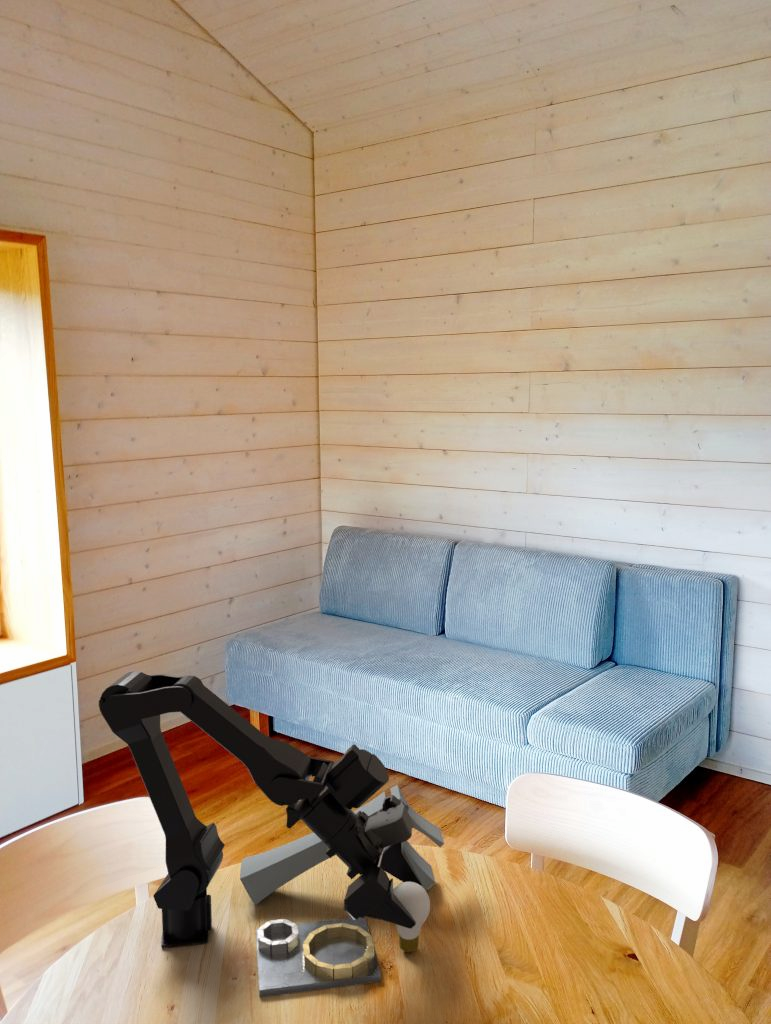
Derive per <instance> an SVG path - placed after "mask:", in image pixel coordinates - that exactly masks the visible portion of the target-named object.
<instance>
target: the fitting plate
mask: <svg viewBox="0 0 771 1024" xmlns="http://www.w3.org/2000/svg"><path fill="white" fill-rule="evenodd" d="M255 942H256V943H255V944H256V945H255V946H256V960H257V961H256V962H257V976H258V978H257V979H258V993H259V994H258V995H259V998H265V997H271V996H272V997H273V996H280V995H288V994H297V993H303V992H310V991H311V992H312V991H320V990H326V989H328V990H329V989H334V988H340V987H341V988H342V987H350V986H356V985H357V986H359V985H367V984H374V983H375V984H376V983H381V982H382V981H381V979H382V974H381V971H380V968H379V964H378V959H377V957H376V952H375V944H374V941H373V937H372V935H371V934H370V930H369V927H368V922H367V919H366V916H365V917H364V918H362V919H361V918H360V917H359V918H358V919H357V920H353V919H352V918H351V917H350V918H349V917H347V918H340V919H339V918H338V919H329V920H322V921H321V920H320V921H313V922H312V921H311V922H303V923H295V922H292V921H290V920H289V919H285V918H281V919H271V920H269V921H266V922H265V923H263V924H262V925H261V926H260V927H258V928H255Z"/></svg>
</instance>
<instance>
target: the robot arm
mask: <svg viewBox="0 0 771 1024" xmlns="http://www.w3.org/2000/svg"><path fill="white" fill-rule="evenodd" d="M98 708H99V712H100V715H101V716H102V717H103V719H104V721H105V722H106V724H107V726H108V727H109V729H110V730H111V732H112V733H113V734H114V735H115V736H117V738H119V739H120V740H121V741H123V742H124V743H125V744H126V745H127V746H128V748H129V750H130V752H131V753H130V754H131V755H132V758H133V760H134V762H135V766H136V768H137V770H138V773H139V775H140V777H141V780H142V782H143V785H144V788H145V790H146V792H147V794H148V797H149V800H150V802H151V805H152V806H153V809H154V811H155V814H156V816H157V818H158V822H159V824H160V827H161V829H162V832H163V834H164V839H165V865H166V869H167V874H166V876H165V877H164V879H163V881H162V882H161V884H160V885H159V886H158V888H157V890H155V893H153V897H152V898H153V899H154V901H155V905H156V906H157V909H160V910H161V922H162V923H161V925H162V926H161V927H162V935H161V942H160V944H161V947H162V948H163V949H164V948H165V949H166V948H172V947H173V948H174V947H180V946H181V947H182V946H188V945H189V946H190V945H197V944H198V945H201V944H206V943H208V942H209V932H211V931H212V928H213V926H212V925H213V915H212V914H213V913H212V895H211V894H209V893H208V889H207V888H208V887H209V885H210V883H211V882H212V880H213V878H214V876H215V875H216V873H217V872H218V869H219V868H220V866H221V863H222V862H223V860H224V852H223V850H224V848H225V846H226V845H225V843H224V842H223V841H222V840H221V838H220V836H219V833H218V829H217V825H216V823H214V822H212V823H210V824H208V825H206V824H204V822H202V821H200V820H199V819H198V817H197V816H196V814H195V812H194V809H193V806H192V804H191V802H190V799H189V796H188V795H187V791H186V789H185V787H184V784H183V782H182V780H181V777H180V774H179V772H178V770H177V767H176V765H175V762H174V759H173V757H172V755H171V751H170V750H169V747H168V744H167V742H166V740H165V737H164V735H163V731H162V729H161V728H162V727H161V715H164V714H168V713H181V714H182V715H184V716H185V717H186V718H187V719H188V720H190V721H191V722H192V723H193V724H194V725H196V726H197V727H198V728H199V729H201V730H202V731H203V732H204V733H205V734H207V735H208V736H209V737H210V738H211V739H212V740H214V741H215V742H216V743H218V745H220V746H221V747H223V748H224V750H226V751H227V752H229V753H230V754H231V755H232V756H234V757H235V758H236V759H237V760H238V761H240V762H241V763H242V764H243V765H244V767H245V768H246V769H247V770H248V772H249V775H250V776H251V778H252V780H253V782H254V784H255V786H257V787H258V789H260V791H261V792H262V793H263V794H264V795H265V796H266V798H267V799H268V800H269V801H270V802H272V803H273V804H275V805H277V806H280V807H283V806H286V808H285V812H286V817H287V818H286V828H287V829H292V828H293V827H294V826H295V825H296V824H298V822H299V821H300V820H301V822H303V823H304V824H305V825H306V827H308V829H310V830H311V831H312V833H313V832H314V833H315V834H316V835H317V836H318V837H319V838H320V839H321V840H322V841H323V842H324V843H325V844H326V845H327V846H328V848H327V851H326V854H327V855H328V856H329V857H330V858H329V859H332V858H333V857H334V855H335V854H336V855H335V856H337V858H339V860H341V862H343V864H345V866H346V867H347V868H348V869H347V873H346V876H348V877H349V879H350V880H353V879H354V878H355V877H356V876H358V875H359V876H358V877H357V878H356V879H355V880H354V881H353V882H352V883H350V884H349V885H348V886H347V889H346V893H345V895H344V896H345V897H344V900H343V910H344V912H345V913H346V914H347V915H349V917H350V918H352V919H353V920H357V919H358V918H359V917H360V918H361V919H362V918H364V917H365V918H366V917H367V918H370V919H376V920H380V921H382V922H383V921H384V922H386V923H391V924H394V925H396V924H397V925H400V926H403V927H406V928H409V929H411V928H412V927H414V926H415V925H416V922H415V920H414V919H413V917H412V916H411V914H410V913H409V912H408V911H407V909H406V908H405V907H404V906H403V904H402V903H401V902H400V901H399V899H398V898H397V897H396V896H395V894H394V893H393V889H394V878H396V879H397V880H399V881H401V883H403V882H414V883H417V884H419V885H420V886H422V882H421V881H420V879H419V877H418V875H417V873H416V872H415V870H414V868H413V866H412V864H411V862H410V861H409V859H408V857H407V855H406V853H405V851H404V849H403V842H405V841H409V840H410V839H411V837H412V835H413V833H412V832H413V831H412V830H413V828H412V827H413V826H414V824H413V822H412V820H411V818H410V816H409V814H408V811H409V807H408V805H405V804H404V802H403V801H402V802H401V801H400V800H399V799H397V798H396V797H395V796H394V795H391V794H390V795H387V797H386V798H384V801H383V807H382V812H381V811H380V810H379V811H378V812H377V814H376V815H374V816H372V817H369V816H368V815H367V814H366V813H365V812H361V811H359V812H358V813H356V814H355V813H354V812H353V811H354V810H352V809H353V808H354V809H359V808H360V807H362V806H363V805H365V804H366V802H367V801H368V800H369V799H371V797H372V796H374V795H375V794H376V793H377V792H378V791H379V790H381V788H382V787H383V786H385V785H386V784H387V783H388V782H389V780H390V776H389V773H388V770H387V768H386V766H385V765H384V763H383V762H382V760H380V758H379V757H378V756H377V755H376V754H375V753H372V752H370V751H368V750H367V749H363V748H361V749H360V747H358V746H357V745H356V744H352V745H351V746H350V747H349V748H347V750H346V751H345V753H344V754H343V755H342V756H341V757H340V758H339V759H338V760H337V761H336V762H335V761H334V760H330V759H325V758H320V757H313V756H308V755H307V754H306V753H304V752H303V751H301V750H300V749H298V748H296V747H295V746H293V745H291V744H289V743H288V742H286V741H282V740H279V739H276V738H272V737H270V736H268V735H266V734H265V733H263V732H262V731H261V730H260V729H258V728H257V727H256V726H255V725H254V724H252V723H251V722H249V721H248V720H247V719H246V718H245V717H243V716H242V715H241V714H240V713H239V712H237V711H236V710H235V709H234V708H233V707H231V706H230V705H229V704H227V703H226V702H225V701H224V700H223V699H222V698H220V697H219V696H218V695H216V693H214V692H212V690H210V689H209V688H208V687H207V686H206V685H204V683H203V681H202V680H201V679H200V678H199V677H198V676H196V675H173V674H166V673H155V674H146V673H144V672H143V671H138V670H132V671H129V672H126V673H125V674H124V675H122V676H120V677H119V678H118V679H117V680H116V681H114V682H113V683H112V684H110V685H109V686H108V687H107V688H105V689H104V691H103V692H102V693H101V695H100V698H99V699H98ZM312 777H314V778H313V779H312ZM388 874H389V875H391V876H392V877H394V878H391V879H390V878H389V877H388Z"/></svg>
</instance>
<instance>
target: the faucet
mask: <svg viewBox="0 0 771 1024" xmlns="http://www.w3.org/2000/svg"><path fill="white" fill-rule="evenodd" d="M389 790H390V796H391V795H394V796H395V797H396V798H397V799H399V800H400V801H401V802H402V801H403V802H404V804H405V805H408V807H409V811H408V814H409V816H410V818H411V820H412V822H413V824H414V826H413V827H412V829H413V830H416V831H418V832H420V833H421V834H422V835H424V836H425V837H427V838H429V839H430V841H432V842H433V843H434V844H435V845H437V846H438V847H439V848H442V847H443V845H444V844H445V841H444V837H443V835H442V831H441V828H440V827H439V826H437V825H436V824H434V823H432V822H431V821H430V820H428V819H426V818H425V817H423V816H422V815H421V814H420V813H418V812H417V811H416V810H415V809H414V808H413V807H412V805H411V804H410V803H409V802H408V800H407V799H406V797H405V796H404V794H403V792H402V791H401V788H400V786H399V785H398V784H396V785H394V786H392V787H390V789H389ZM386 797H388V795H387V793H386V791H384V790H383V791H382V792H381V793H380V794H378V795H377V796H376V797H374V798H373V799H371V800H370V801H369V802H367V803H364V804H362V805H361V806H360V807H359V808H356V809H355V810H352V811H353V812H354V813H355V814H356V813H358V812H359V811H361V812H365V813H366V814H367V815H368V816H369V817H372V816H374V815H376V814H377V812H378V811H379V810H380V811H381V812H382V807H383V801H384V798H386ZM327 848H328V846H327V845H326V844H325V843H324V842H323V841H322V840H321V839H320V838H319V837H318V836H317V835H316V834H315V833H314V832H313V831H312V832H311V833H308V834H306V835H305V836H302V837H300V838H298V839H295V840H293V841H291V842H288V843H285V844H282V845H280V846H278V847H275V848H272V849H270V850H267V851H263V852H261V853H257V854H254V855H251V856H250V855H249V856H246V857H242V861H241V863H240V868H239V869H240V871H239V879H240V881H241V884H242V886H243V888H244V889H245V891H246V893H247V894H248V897H249V898H250V900H251V902H252V903H253V905H254V906H257V905H258V904H259V903H261V902H262V900H264V899H265V898H266V897H268V896H269V895H271V894H272V893H274V892H275V891H276V890H278V889H280V888H281V887H283V886H284V885H286V884H287V883H289V882H290V881H292V880H294V879H296V878H297V877H298V876H300V875H302V874H303V873H305V872H307V871H309V870H311V869H312V868H314V867H315V866H318V865H320V864H321V863H322V862H325V861H326V860H327V861H328V859H331V858H330V857H329V856H328V855H327V854H326V851H327ZM403 849H404V851H405V853H406V855H407V857H408V859H409V861H410V862H411V864H412V866H413V868H414V870H415V872H416V873H417V875H418V877H419V879H420V881H421V882H422V887H423V888H424V889H425V891H426V892H428V891H429V889H430V888H432V887H433V886H434V885H435V884H436V879H435V875H434V872H433V871H434V870H433V868H432V865H430V863H428V862H427V860H425V858H424V857H423V856H421V855H420V853H419V852H418V851H417V850H416V849H415V848H414V847H413V846H412V845H411V843H409V840H407V841H405V842H403ZM334 856H337V855H336V854H335V855H334ZM334 856H333V857H334Z"/></svg>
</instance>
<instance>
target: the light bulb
mask: <svg viewBox="0 0 771 1024" xmlns="http://www.w3.org/2000/svg"><path fill="white" fill-rule="evenodd" d="M393 893H394V894H395V896H396V897H397V898H398V899H399V901H400V902H401V903H402V904H403V906H404V907H405V908H406V909H407V911H408V912H409V913H410V914H411V916H412V917H413V919H414V920H415V922H416V925H415V926H414V927H412V928H411V929H409V928H406V927H403V926H400V925H397V924H395V926H396V930H397V933H398V939H399V940H398V941H399V948H400V950H402V951H403V952H405V953H410V954H411V953H413V952H414V951H416V950H417V949H418V947H419V937H420V936H419V935H420V933H421V930H422V926H423V924H424V923H425V921H426V920H427V918H428V916H429V914H430V912H431V911H430V910H431V901H430V897H429V893H428V891H425V889H424V888H423V887H422V886H420V885H419V884H417V883H414V882H401V883H399V884H397V885H396V886H394V887H393Z"/></svg>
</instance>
